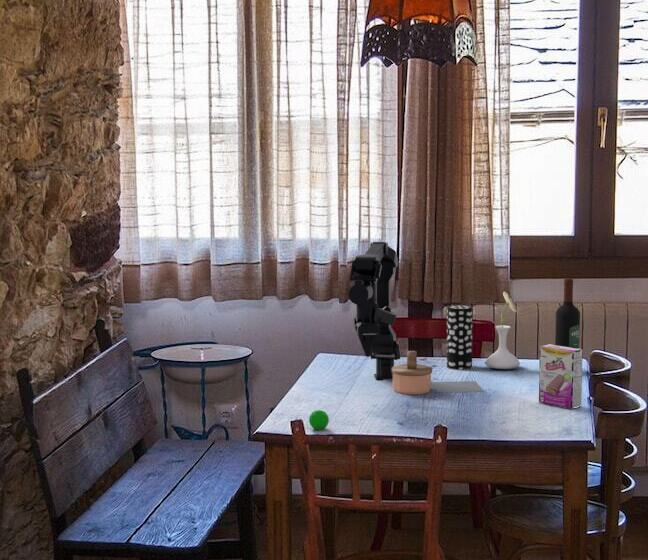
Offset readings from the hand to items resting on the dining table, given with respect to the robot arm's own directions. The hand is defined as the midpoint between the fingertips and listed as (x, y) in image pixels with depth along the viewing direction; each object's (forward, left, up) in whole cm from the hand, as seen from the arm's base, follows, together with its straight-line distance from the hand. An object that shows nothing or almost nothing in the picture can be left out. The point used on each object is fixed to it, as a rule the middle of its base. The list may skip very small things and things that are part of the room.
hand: (366, 353), depth 294 cm
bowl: (-7, +14, -13) cm, 20 cm away
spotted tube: (-40, +34, -13) cm, 54 cm away
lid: (-7, +14, -7) cm, 17 cm away
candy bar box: (+13, +53, -13) cm, 56 cm away
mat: (-10, +28, -13) cm, 32 cm away
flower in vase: (-38, +48, -13) cm, 63 cm away
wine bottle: (-30, +67, -13) cm, 75 cm away
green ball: (+33, -15, -13) cm, 39 cm away
